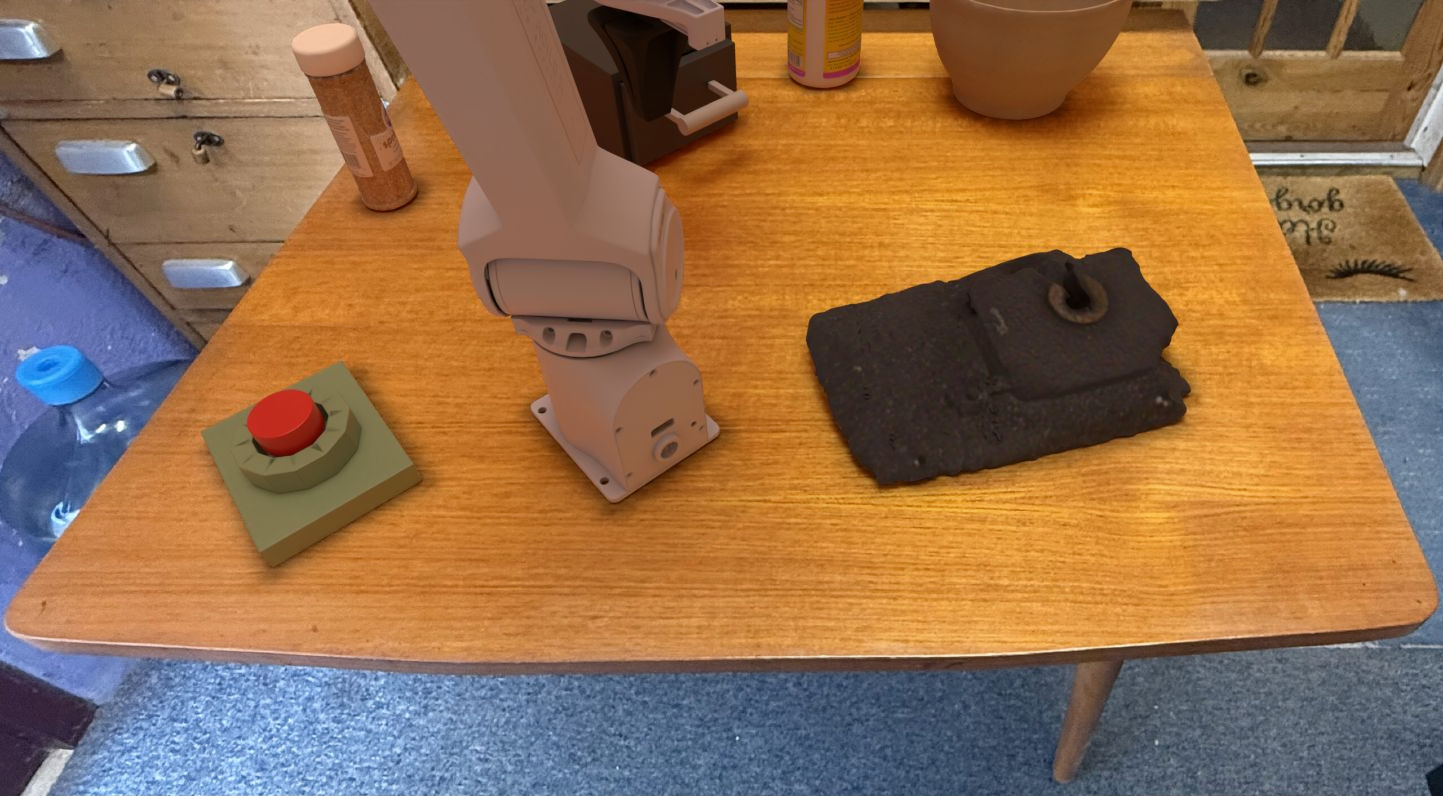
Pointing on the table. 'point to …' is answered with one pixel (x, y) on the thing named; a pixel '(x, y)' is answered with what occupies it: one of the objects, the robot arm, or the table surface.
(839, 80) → the supplement bottle
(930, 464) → the black stepped slab
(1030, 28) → the planter bowl
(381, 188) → the sprinkles bottle
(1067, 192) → the table surface
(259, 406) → the button
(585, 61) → the cabinet
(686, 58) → the drawer
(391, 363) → the table surface
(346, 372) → the control block
